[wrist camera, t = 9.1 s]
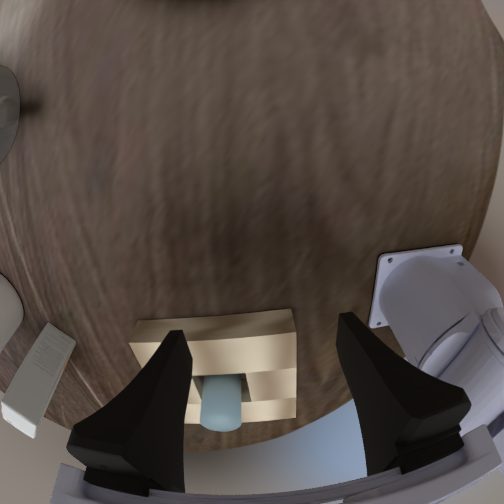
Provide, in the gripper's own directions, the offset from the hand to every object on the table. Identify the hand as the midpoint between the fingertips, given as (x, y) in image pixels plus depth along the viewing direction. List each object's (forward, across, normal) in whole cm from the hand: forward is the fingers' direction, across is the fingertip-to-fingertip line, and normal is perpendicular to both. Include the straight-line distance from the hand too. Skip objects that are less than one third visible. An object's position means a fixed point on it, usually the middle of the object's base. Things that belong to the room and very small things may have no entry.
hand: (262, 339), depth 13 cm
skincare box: (+10, +24, +10) cm, 28 cm away
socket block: (+10, +4, +14) cm, 17 cm away
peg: (+10, +4, +13) cm, 17 cm away
